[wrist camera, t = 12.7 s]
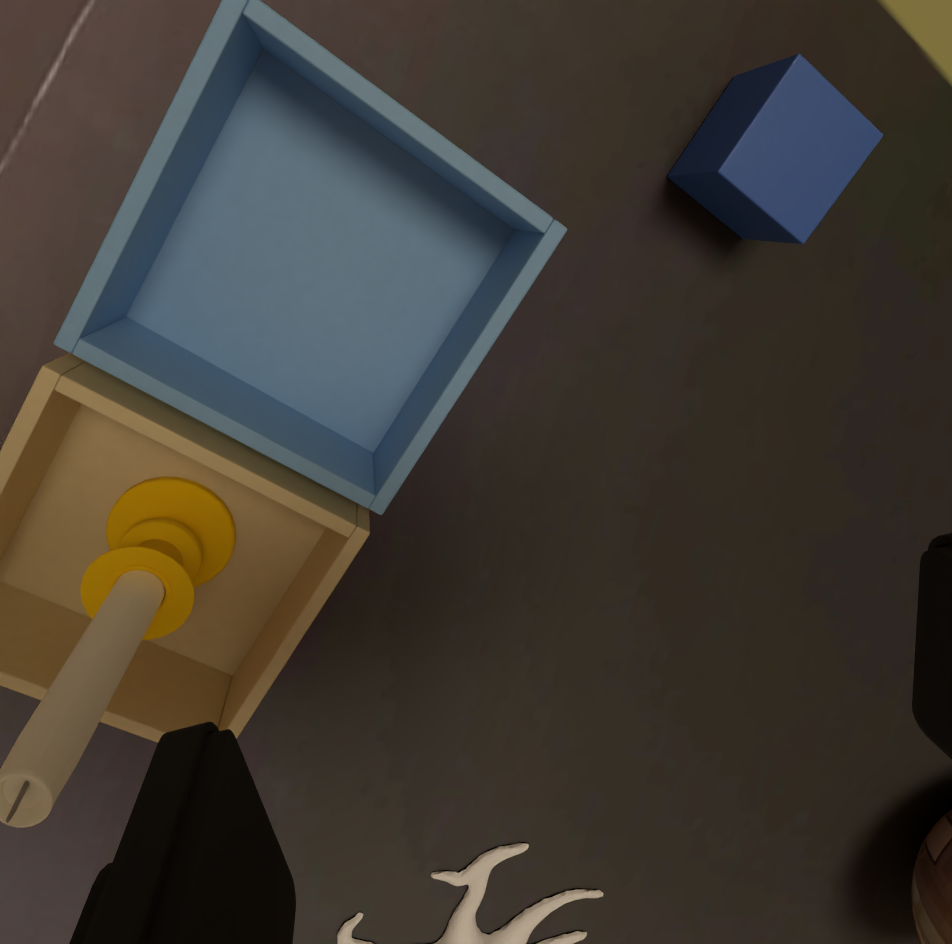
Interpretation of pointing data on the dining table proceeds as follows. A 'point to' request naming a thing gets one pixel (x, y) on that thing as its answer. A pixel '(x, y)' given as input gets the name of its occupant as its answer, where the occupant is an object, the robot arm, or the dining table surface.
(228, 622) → the cream bin
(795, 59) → the blue block
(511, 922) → the tree stump
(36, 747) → the candle
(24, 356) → the dining table surface
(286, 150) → the blue bin
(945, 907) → the ornament
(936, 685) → the robot arm
